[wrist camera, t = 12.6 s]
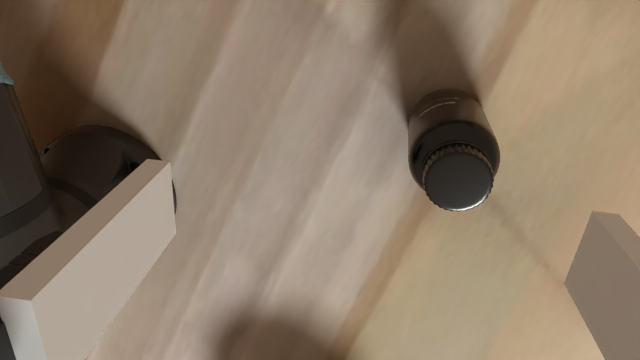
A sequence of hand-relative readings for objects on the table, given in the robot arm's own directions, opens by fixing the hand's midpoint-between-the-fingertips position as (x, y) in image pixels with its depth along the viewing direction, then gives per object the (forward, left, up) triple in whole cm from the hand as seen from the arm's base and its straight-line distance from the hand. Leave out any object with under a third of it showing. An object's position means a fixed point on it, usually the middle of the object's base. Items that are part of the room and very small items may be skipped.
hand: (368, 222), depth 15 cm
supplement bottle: (+6, -6, -29) cm, 31 cm away
